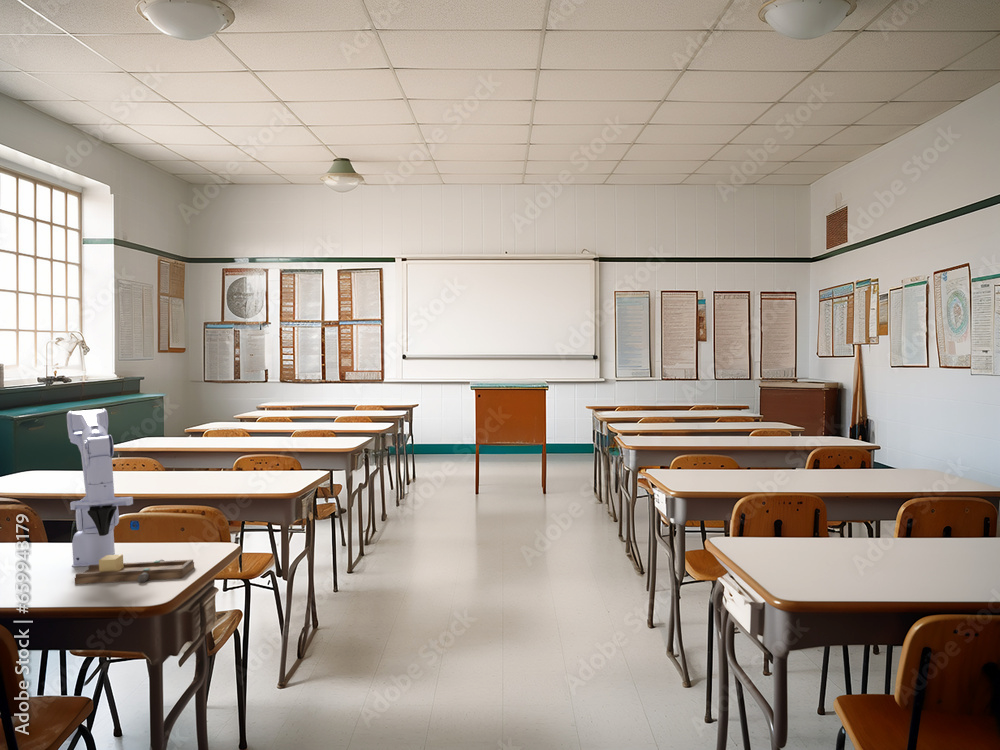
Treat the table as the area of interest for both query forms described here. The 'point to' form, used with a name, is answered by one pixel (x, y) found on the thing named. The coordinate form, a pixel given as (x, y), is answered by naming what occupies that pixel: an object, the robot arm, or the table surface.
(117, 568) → the block
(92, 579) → the balance beam
